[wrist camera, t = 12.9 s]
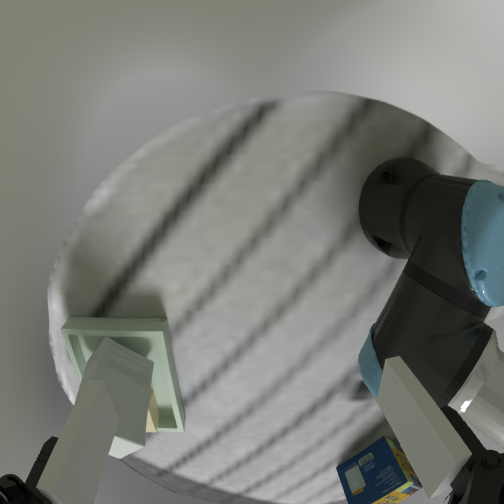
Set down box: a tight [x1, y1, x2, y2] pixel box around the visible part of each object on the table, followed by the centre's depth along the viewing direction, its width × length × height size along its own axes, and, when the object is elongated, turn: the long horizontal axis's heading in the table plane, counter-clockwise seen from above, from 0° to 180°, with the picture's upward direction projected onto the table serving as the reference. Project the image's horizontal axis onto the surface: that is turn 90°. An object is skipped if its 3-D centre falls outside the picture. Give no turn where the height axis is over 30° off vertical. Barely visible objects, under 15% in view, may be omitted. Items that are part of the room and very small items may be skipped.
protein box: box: [336, 436, 423, 504], centre depth 54 cm, size 10×15×16 cm
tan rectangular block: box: [146, 390, 160, 432], centre depth 46 cm, size 8×6×5 cm
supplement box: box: [74, 337, 154, 459], centre depth 38 cm, size 9×9×15 cm
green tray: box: [61, 317, 186, 432], centre depth 46 cm, size 17×22×4 cm
